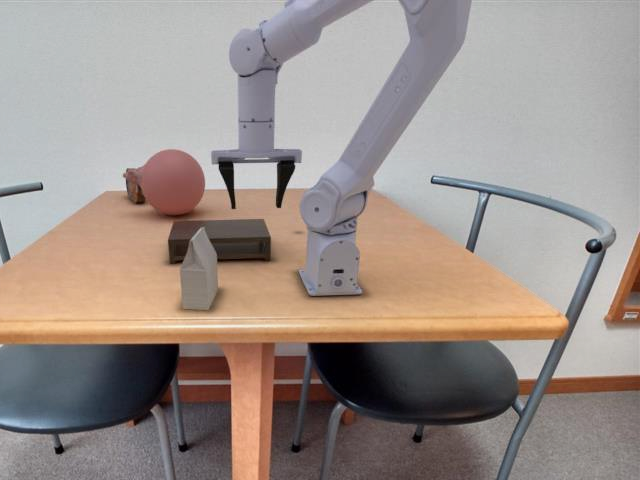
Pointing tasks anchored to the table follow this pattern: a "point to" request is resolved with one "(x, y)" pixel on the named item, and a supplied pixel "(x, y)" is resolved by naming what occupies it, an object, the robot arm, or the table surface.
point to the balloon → (170, 181)
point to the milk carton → (199, 273)
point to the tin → (134, 190)
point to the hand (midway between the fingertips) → (256, 207)
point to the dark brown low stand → (223, 238)
